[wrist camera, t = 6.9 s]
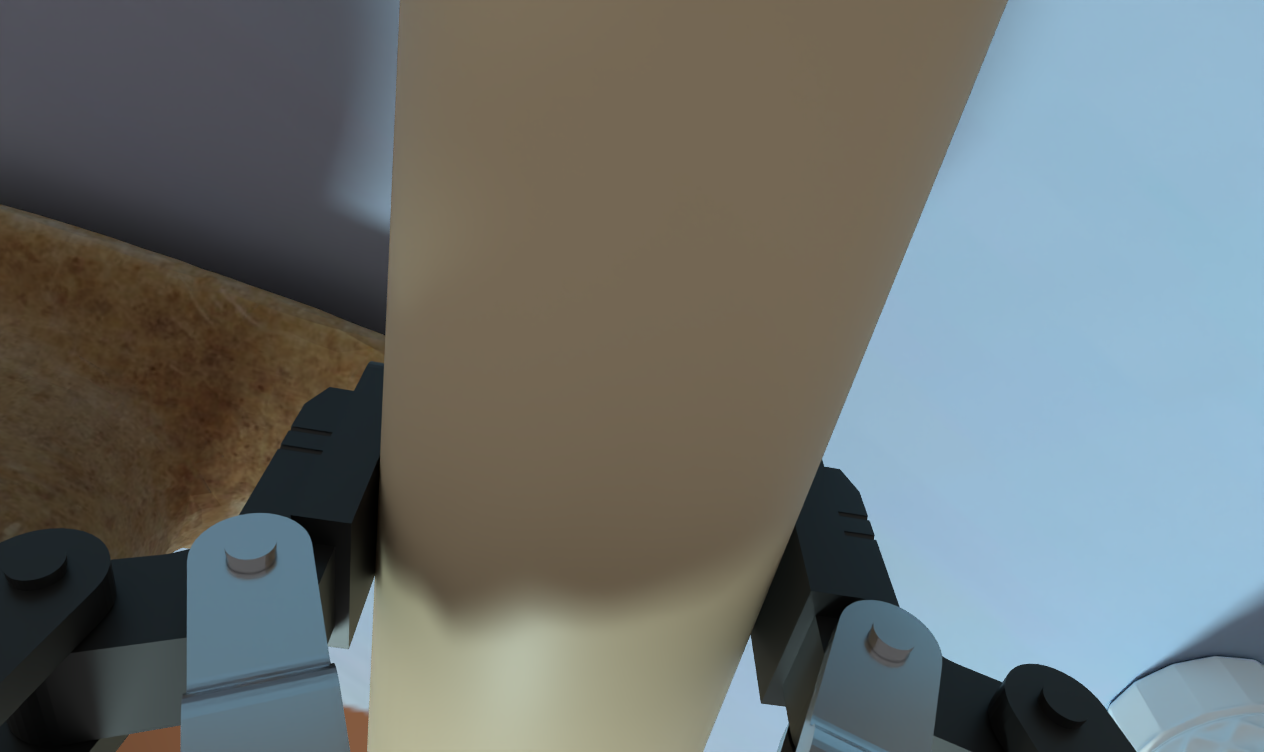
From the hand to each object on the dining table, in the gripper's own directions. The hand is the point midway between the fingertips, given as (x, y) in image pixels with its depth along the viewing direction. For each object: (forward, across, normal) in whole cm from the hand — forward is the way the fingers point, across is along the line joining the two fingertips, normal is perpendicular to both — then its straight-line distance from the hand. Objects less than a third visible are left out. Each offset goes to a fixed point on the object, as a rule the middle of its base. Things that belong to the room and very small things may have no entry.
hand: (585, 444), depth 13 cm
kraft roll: (+1, 0, 0) cm, 1 cm away
